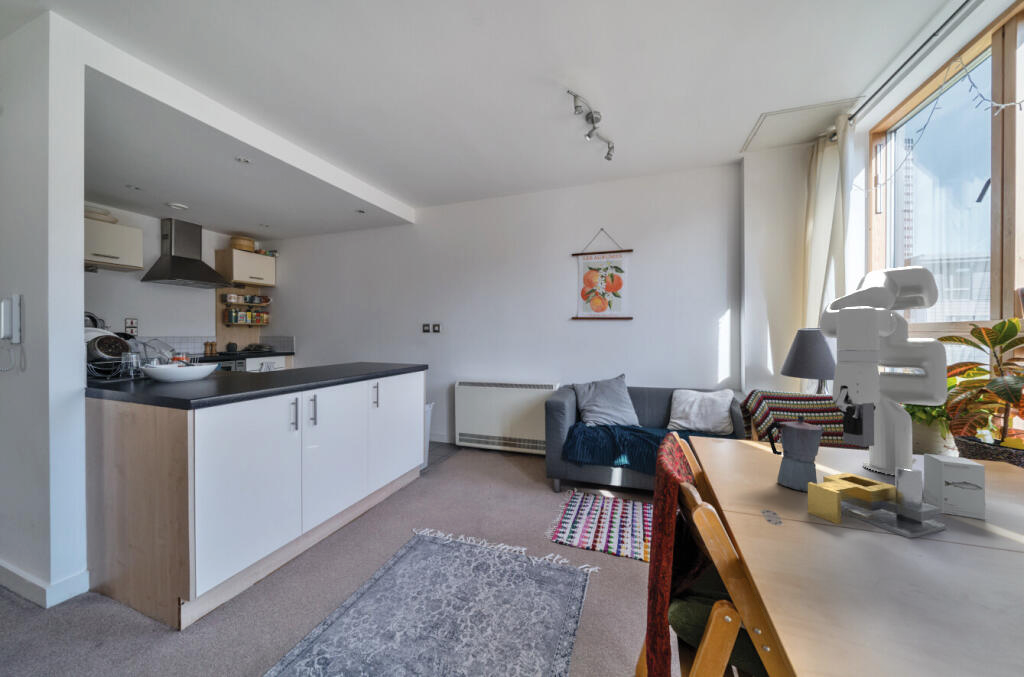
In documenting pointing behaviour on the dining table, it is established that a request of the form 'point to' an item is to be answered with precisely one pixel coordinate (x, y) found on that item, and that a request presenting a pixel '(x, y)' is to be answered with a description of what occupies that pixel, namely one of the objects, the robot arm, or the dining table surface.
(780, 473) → the moka pot
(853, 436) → the wedge pin
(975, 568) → the dining table surface
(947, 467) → the supplement box
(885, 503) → the stepped holder fixture
